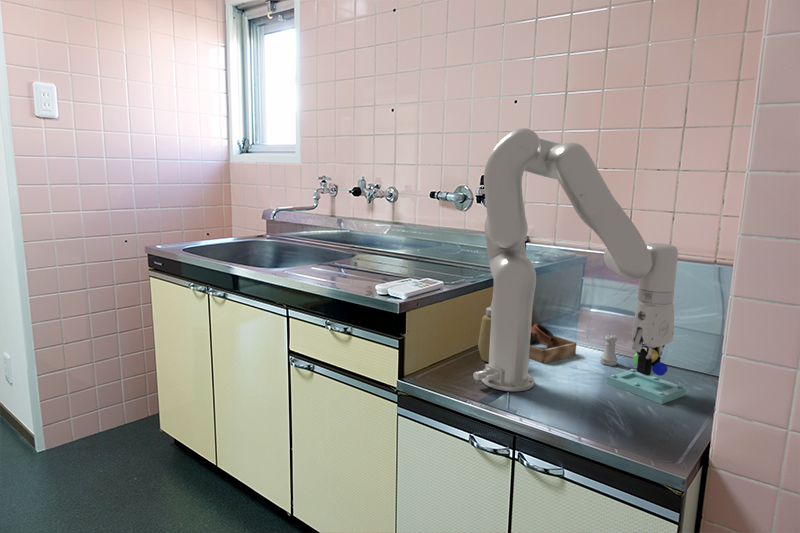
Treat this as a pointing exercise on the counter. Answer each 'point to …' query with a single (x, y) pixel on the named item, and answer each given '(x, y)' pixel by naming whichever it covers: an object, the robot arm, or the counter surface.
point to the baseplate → (647, 386)
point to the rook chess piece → (609, 351)
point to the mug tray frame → (552, 350)
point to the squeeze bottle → (485, 335)
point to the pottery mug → (542, 335)
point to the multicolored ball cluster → (658, 367)
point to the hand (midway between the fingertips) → (647, 371)
